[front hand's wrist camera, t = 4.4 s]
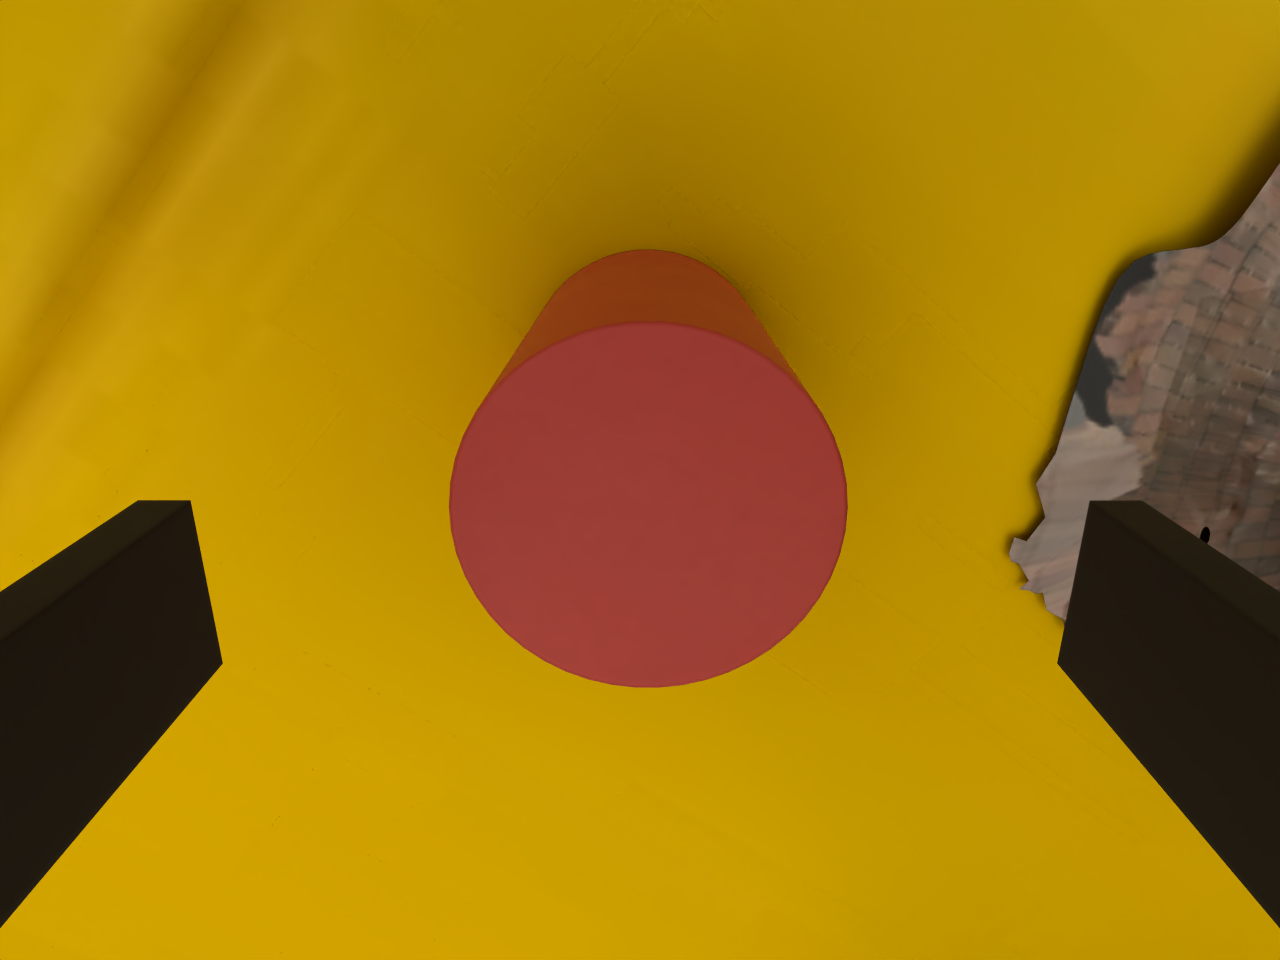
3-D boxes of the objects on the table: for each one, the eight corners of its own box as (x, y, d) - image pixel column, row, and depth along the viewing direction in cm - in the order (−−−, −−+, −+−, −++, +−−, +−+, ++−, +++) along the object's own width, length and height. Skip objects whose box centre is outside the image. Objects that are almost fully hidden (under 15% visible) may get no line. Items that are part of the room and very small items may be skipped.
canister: (636, 523, 25) (630, 751, 16) (479, 359, 24) (364, 503, 14) (812, 382, 24) (927, 538, 14) (659, 195, 22) (670, 227, 12)
